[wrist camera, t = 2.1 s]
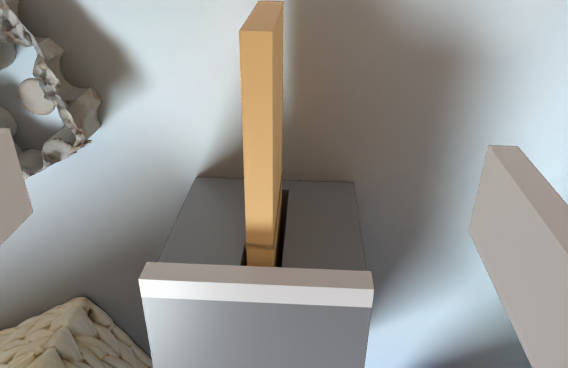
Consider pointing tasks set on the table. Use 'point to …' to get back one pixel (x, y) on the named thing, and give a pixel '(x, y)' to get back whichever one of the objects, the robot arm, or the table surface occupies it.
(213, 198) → the box
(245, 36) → the ticket
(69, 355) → the storage basket
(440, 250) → the table surface
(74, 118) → the egg carton
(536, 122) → the table surface
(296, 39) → the table surface
